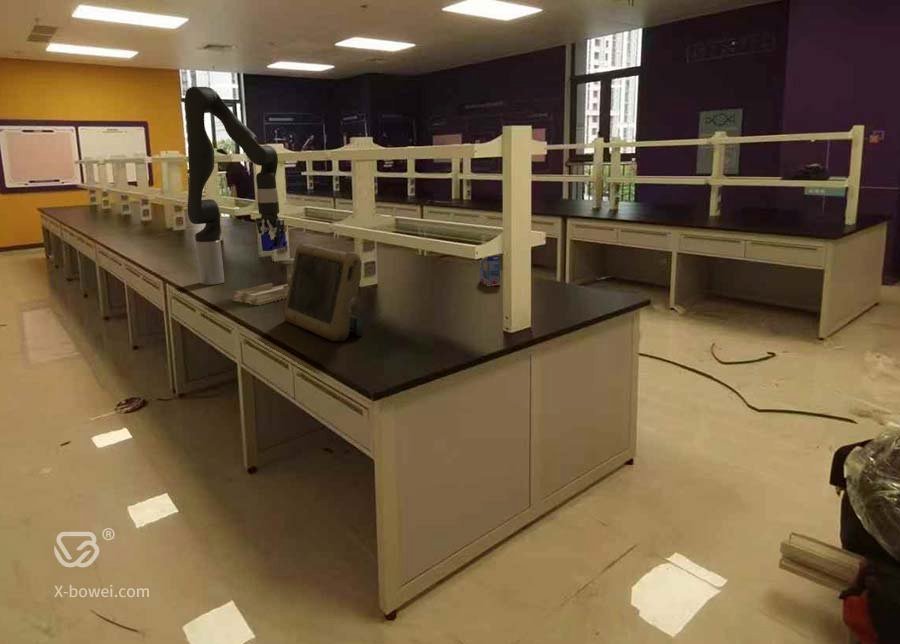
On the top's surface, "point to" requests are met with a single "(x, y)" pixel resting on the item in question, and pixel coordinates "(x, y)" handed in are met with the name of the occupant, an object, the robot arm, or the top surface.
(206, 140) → the robot arm
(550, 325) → the top surface
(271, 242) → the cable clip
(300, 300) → the tablet
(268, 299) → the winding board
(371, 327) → the top surface
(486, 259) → the ink cartridge box
